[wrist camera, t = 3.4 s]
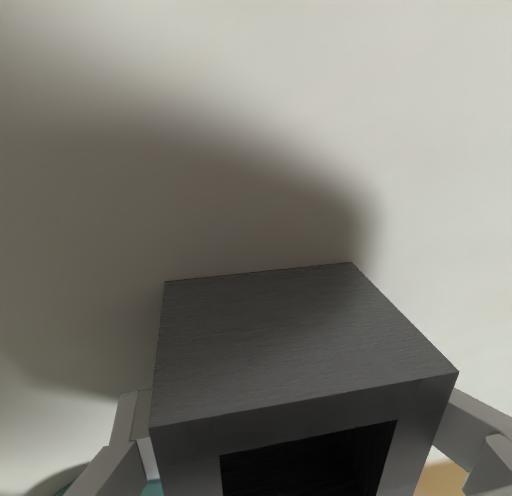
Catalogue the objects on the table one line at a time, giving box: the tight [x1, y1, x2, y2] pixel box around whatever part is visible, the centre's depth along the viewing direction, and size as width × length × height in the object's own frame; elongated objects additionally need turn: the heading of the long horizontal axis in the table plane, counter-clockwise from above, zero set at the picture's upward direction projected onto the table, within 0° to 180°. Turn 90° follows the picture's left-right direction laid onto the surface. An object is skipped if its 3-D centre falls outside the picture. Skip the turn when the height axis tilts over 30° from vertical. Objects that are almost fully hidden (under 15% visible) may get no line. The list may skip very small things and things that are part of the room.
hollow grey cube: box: [148, 262, 459, 496], centre depth 10 cm, size 6×6×5 cm
